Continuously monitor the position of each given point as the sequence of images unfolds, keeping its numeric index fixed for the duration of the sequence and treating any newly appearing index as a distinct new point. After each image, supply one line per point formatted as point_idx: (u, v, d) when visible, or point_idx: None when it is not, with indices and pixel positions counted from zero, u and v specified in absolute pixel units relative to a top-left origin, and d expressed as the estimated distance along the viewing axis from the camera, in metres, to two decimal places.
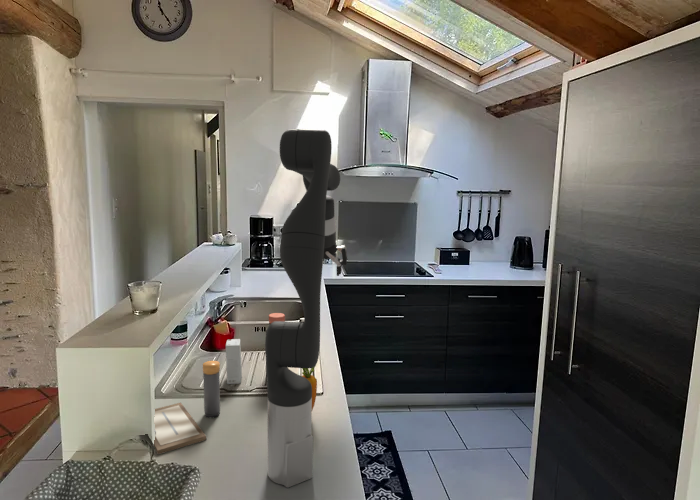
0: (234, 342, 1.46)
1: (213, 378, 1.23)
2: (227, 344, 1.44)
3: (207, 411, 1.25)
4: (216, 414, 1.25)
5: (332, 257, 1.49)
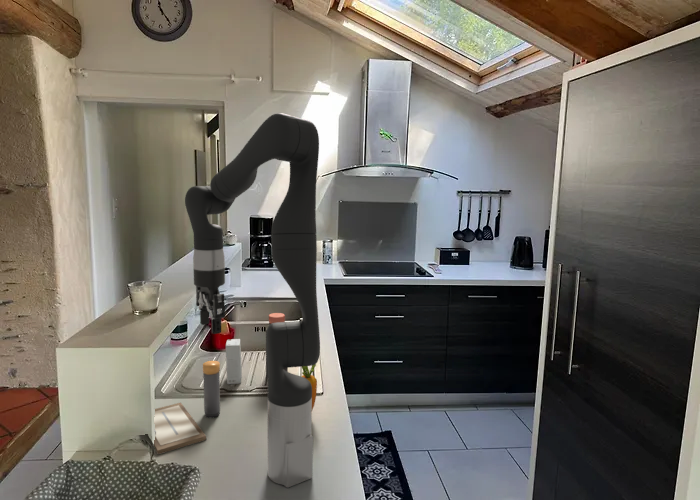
0: (234, 342, 1.46)
1: (213, 378, 1.23)
2: (227, 344, 1.44)
3: (207, 411, 1.25)
4: (216, 414, 1.25)
5: None
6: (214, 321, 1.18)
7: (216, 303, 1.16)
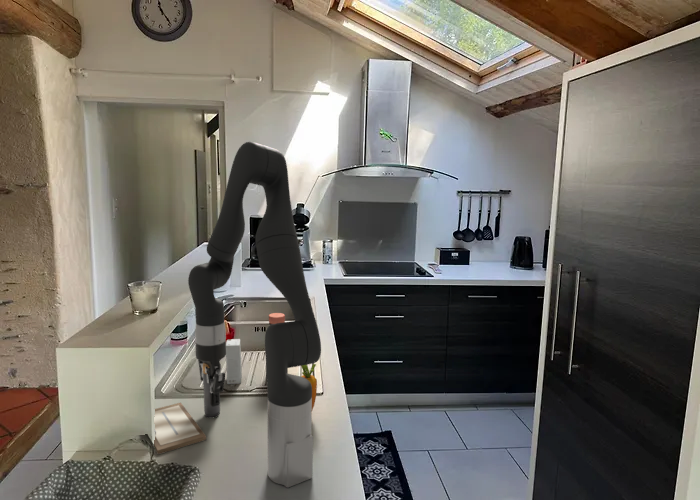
0: (234, 342, 1.46)
1: None
2: (227, 344, 1.44)
3: (207, 411, 1.25)
4: (216, 414, 1.25)
5: None
6: (213, 395, 1.23)
7: (216, 382, 1.19)
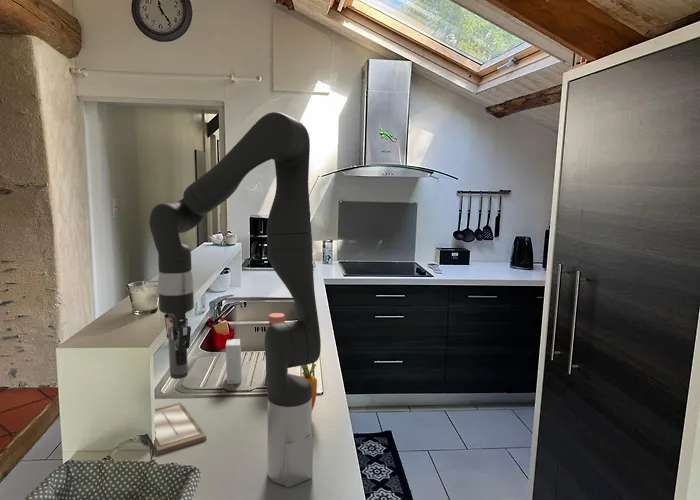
0: (234, 342, 1.46)
1: None
2: (227, 344, 1.44)
3: (172, 371, 1.11)
4: (183, 375, 1.12)
5: None
6: (178, 352, 1.09)
7: (181, 336, 1.06)
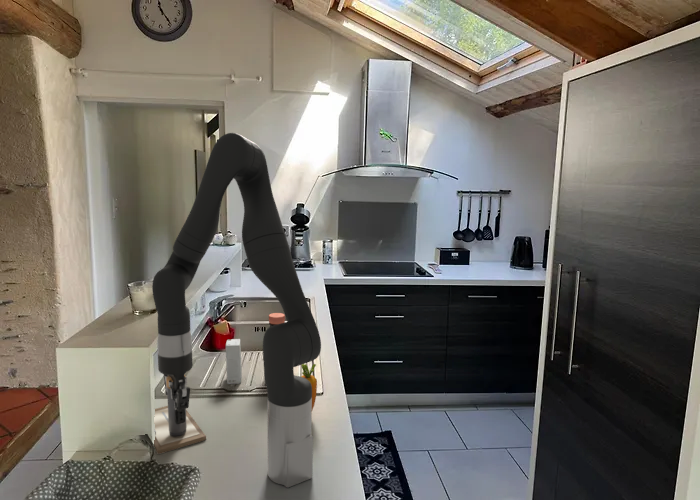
0: (234, 342, 1.46)
1: None
2: (227, 344, 1.44)
3: (171, 429, 1.13)
4: (182, 432, 1.13)
5: None
6: (177, 411, 1.11)
7: (180, 398, 1.07)
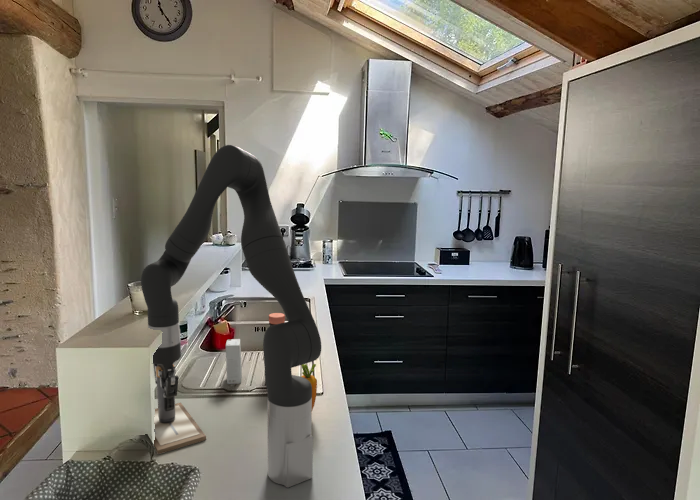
0: (234, 342, 1.46)
1: None
2: (227, 344, 1.44)
3: (161, 416, 1.19)
4: (171, 419, 1.20)
5: None
6: (166, 399, 1.17)
7: (169, 386, 1.14)
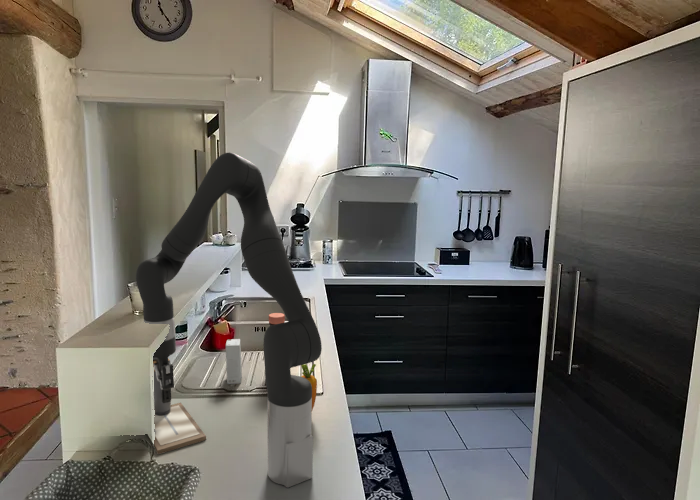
0: (234, 342, 1.46)
1: None
2: (227, 344, 1.44)
3: (156, 409, 1.23)
4: (166, 412, 1.24)
5: None
6: (163, 391, 1.19)
7: (164, 374, 1.17)
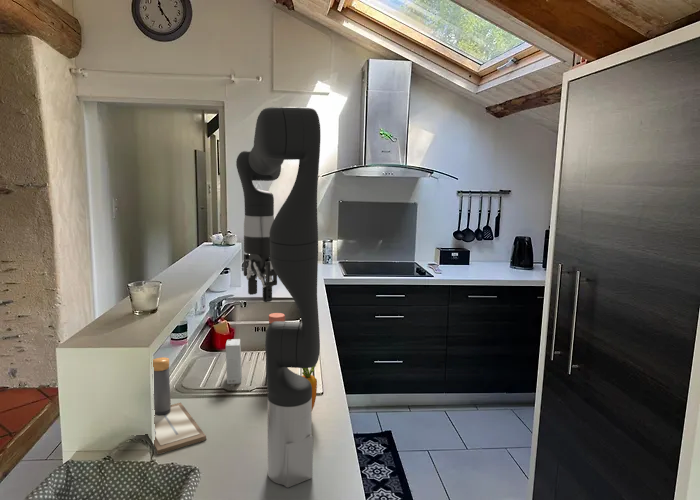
0: (234, 342, 1.46)
1: (162, 375, 1.22)
2: (227, 344, 1.44)
3: (156, 408, 1.23)
4: (166, 412, 1.24)
5: None
6: (265, 289, 1.16)
7: (269, 270, 1.14)
